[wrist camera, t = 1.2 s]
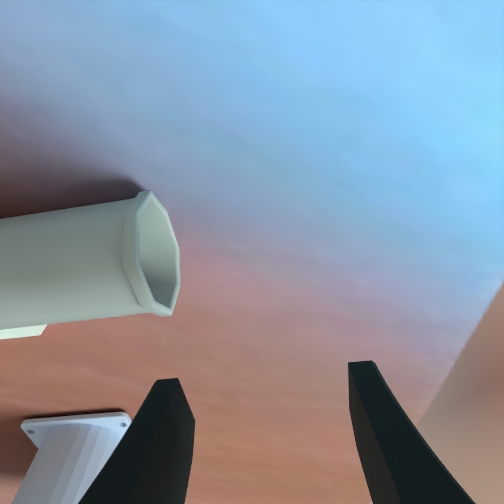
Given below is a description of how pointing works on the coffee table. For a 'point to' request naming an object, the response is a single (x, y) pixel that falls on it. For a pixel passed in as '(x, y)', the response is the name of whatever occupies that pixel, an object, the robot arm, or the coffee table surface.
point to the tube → (88, 263)
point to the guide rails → (22, 332)
